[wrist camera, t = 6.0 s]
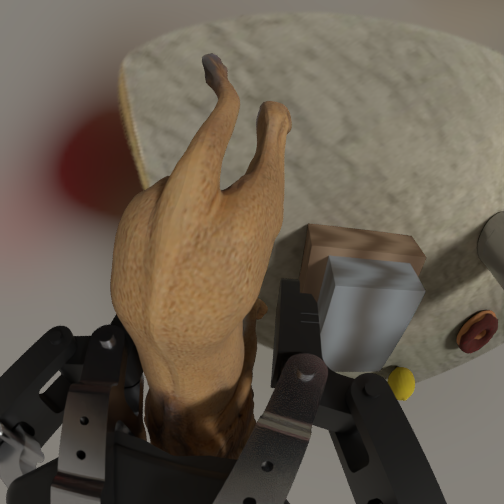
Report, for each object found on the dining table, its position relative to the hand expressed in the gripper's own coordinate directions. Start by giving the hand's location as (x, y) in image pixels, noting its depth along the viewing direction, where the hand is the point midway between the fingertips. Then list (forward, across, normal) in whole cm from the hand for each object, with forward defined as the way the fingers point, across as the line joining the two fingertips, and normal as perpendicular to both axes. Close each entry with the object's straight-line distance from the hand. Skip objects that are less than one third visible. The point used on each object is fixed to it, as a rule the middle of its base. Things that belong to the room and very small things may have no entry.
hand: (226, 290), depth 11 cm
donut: (+22, -44, +24) cm, 55 cm away
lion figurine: (+1, 0, -1) cm, 2 cm away
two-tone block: (+21, -13, +15) cm, 29 cm away
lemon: (+21, -30, +36) cm, 51 cm away
